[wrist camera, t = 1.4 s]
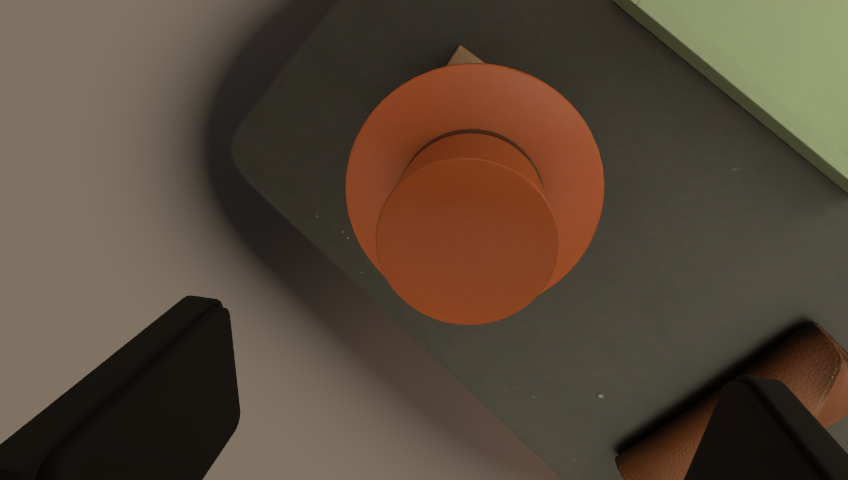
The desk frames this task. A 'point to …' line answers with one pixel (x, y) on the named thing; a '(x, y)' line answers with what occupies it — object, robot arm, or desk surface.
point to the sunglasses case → (788, 362)
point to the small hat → (474, 190)
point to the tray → (769, 64)
